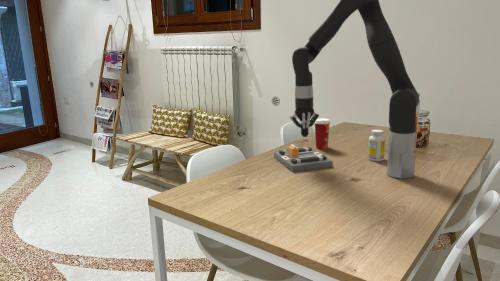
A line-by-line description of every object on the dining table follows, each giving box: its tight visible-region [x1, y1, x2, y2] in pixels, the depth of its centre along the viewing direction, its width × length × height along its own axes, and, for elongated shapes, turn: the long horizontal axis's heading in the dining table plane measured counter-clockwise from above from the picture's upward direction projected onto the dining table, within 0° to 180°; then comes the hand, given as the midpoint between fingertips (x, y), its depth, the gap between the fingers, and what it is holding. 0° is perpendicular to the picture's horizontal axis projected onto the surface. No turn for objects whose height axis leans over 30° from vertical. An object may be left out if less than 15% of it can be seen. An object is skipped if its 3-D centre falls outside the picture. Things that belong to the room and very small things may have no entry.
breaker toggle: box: [287, 143, 300, 158], centre depth 166 cm, size 5×3×5 cm, turn 16°
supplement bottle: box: [367, 129, 386, 162], centre depth 167 cm, size 7×7×13 cm
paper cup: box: [314, 117, 331, 150], centre depth 188 cm, size 8×8×14 cm
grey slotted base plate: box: [279, 146, 327, 164], centre depth 168 cm, size 17×15×4 cm
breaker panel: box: [273, 148, 334, 173], centre depth 168 cm, size 22×18×3 cm
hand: (304, 136), depth 166 cm, fingers closed
